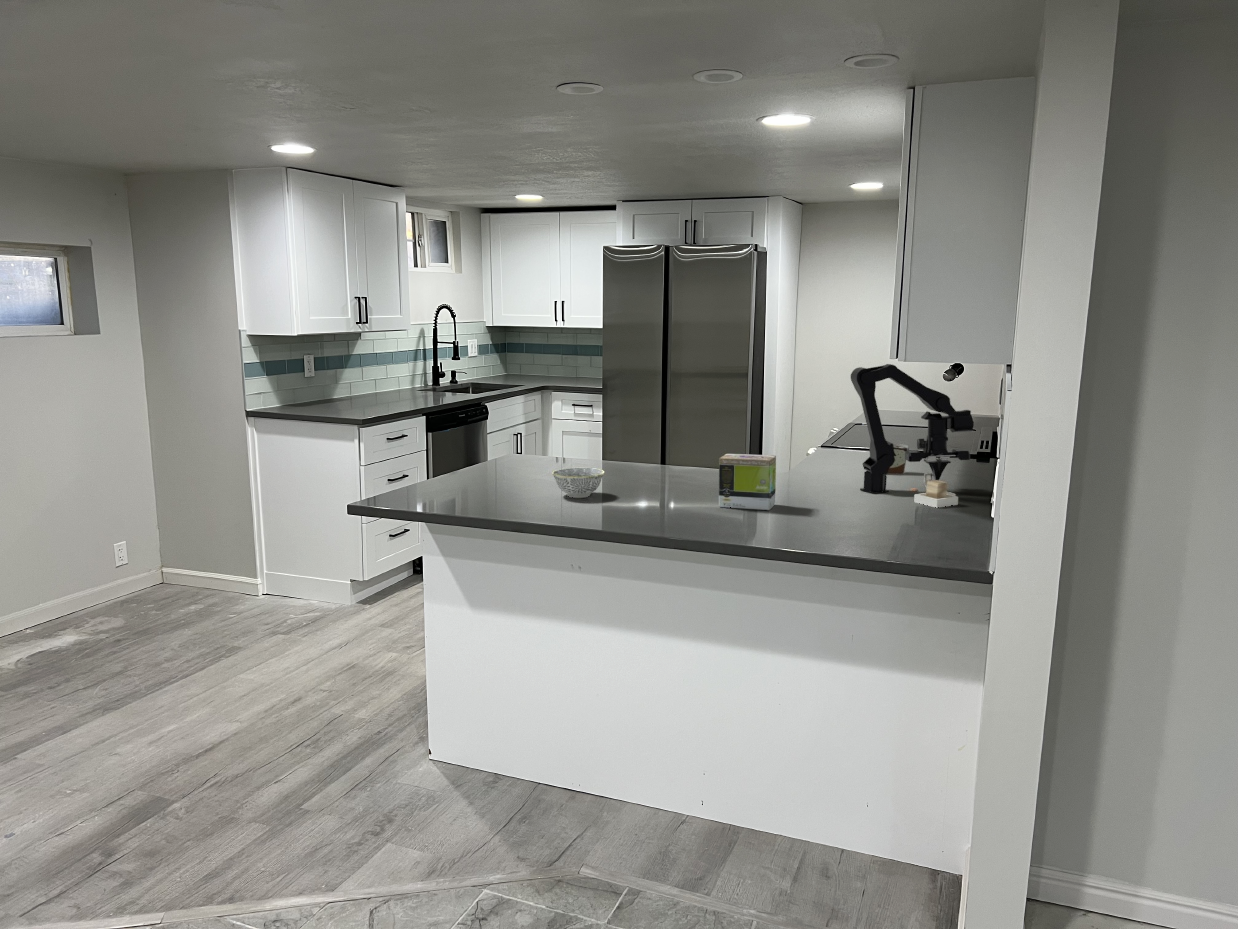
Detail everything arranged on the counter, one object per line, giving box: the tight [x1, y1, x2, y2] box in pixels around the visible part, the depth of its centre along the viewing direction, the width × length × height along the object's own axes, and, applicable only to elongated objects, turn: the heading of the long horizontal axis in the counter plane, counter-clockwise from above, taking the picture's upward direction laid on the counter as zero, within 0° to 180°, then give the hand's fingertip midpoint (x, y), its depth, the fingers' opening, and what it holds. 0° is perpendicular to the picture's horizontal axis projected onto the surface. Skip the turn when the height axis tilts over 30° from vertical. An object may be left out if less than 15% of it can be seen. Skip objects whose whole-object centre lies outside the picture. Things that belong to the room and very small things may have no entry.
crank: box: [923, 472, 933, 489], centre depth 279 cm, size 12×3×4 cm, turn 9°
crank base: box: [910, 487, 957, 496], centre depth 279 cm, size 8×16×1 cm, turn 29°
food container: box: [886, 443, 910, 475], centre depth 315 cm, size 12×6×10 cm, turn 84°
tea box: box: [718, 453, 777, 511], centre depth 262 cm, size 15×10×15 cm
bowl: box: [552, 467, 605, 499], centre depth 276 cm, size 16×16×8 cm
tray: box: [913, 492, 959, 509], centre depth 266 cm, size 9×9×2 cm
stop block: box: [925, 479, 948, 499], centre depth 265 cm, size 4×4×6 cm
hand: (936, 482), depth 284 cm, fingers closed
